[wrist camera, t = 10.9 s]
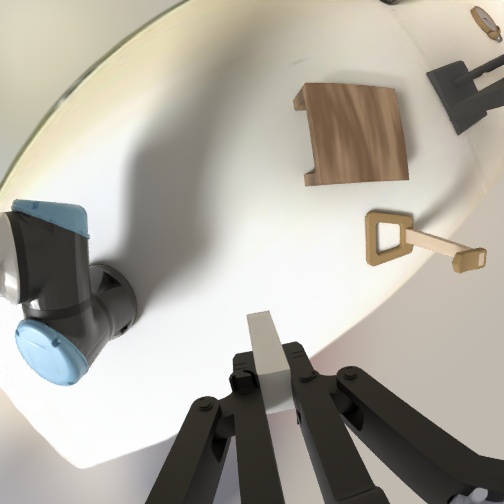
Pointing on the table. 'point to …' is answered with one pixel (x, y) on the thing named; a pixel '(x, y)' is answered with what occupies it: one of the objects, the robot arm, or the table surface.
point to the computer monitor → (467, 92)
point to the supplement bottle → (389, 1)
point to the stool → (353, 133)
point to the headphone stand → (418, 244)
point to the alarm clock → (486, 23)
